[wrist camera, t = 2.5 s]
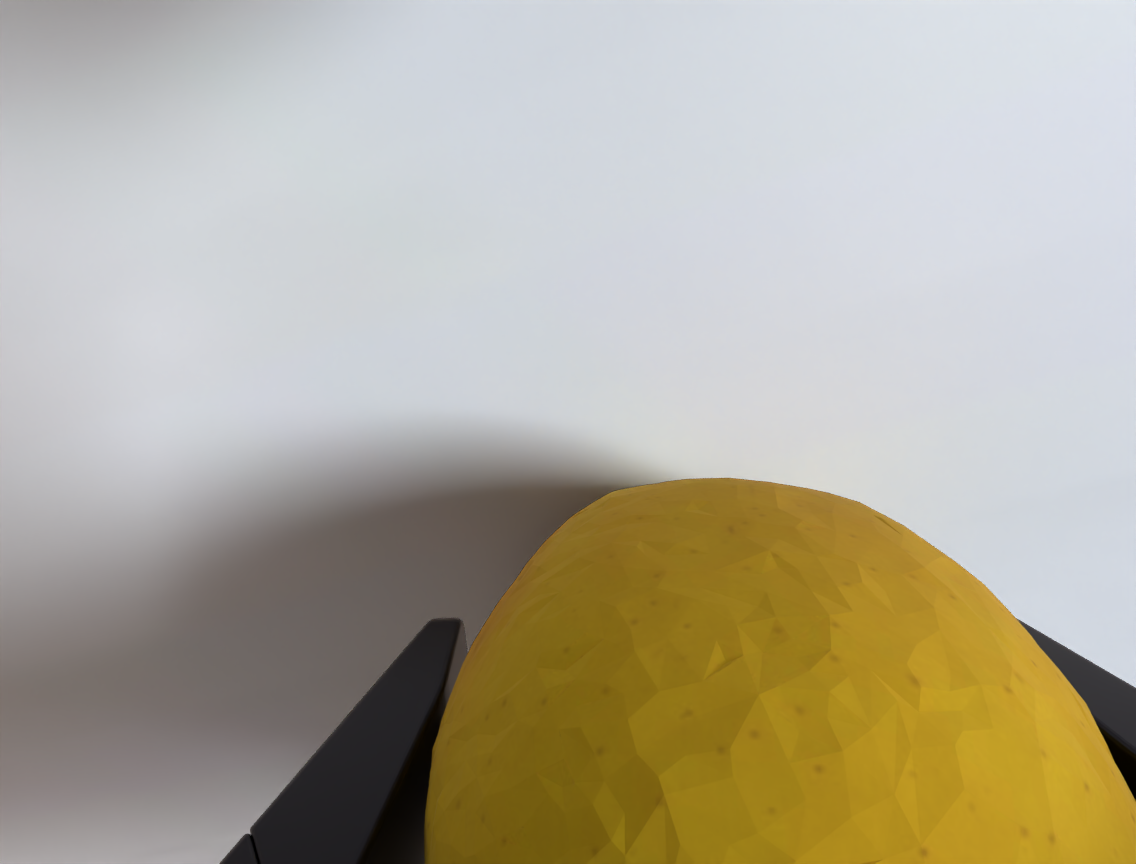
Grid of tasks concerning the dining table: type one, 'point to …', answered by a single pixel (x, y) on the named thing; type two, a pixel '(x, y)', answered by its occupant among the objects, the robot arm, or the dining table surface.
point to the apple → (762, 700)
